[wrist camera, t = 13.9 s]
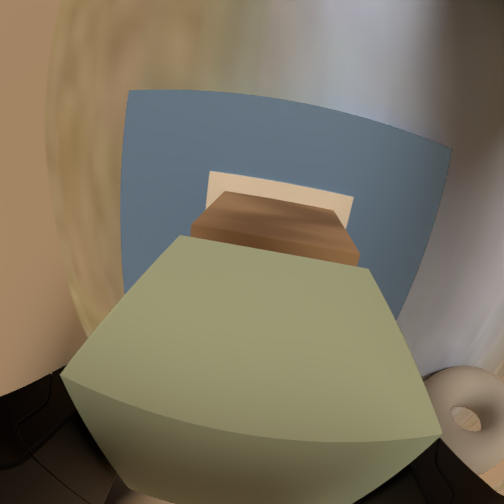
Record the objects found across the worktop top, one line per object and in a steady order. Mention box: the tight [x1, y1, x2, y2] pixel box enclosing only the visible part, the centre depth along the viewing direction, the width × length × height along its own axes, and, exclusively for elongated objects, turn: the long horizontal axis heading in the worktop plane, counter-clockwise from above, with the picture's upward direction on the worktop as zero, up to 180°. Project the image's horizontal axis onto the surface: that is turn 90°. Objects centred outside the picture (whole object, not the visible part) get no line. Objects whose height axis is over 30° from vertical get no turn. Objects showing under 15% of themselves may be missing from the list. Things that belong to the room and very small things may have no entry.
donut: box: [424, 366, 504, 475], centre depth 13 cm, size 10×3×10 cm, turn 92°
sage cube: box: [60, 235, 443, 504], centre depth 6 cm, size 5×5×5 cm
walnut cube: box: [190, 191, 361, 267], centre depth 11 cm, size 5×5×5 cm
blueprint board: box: [120, 90, 452, 320], centre depth 14 cm, size 16×14×1 cm
